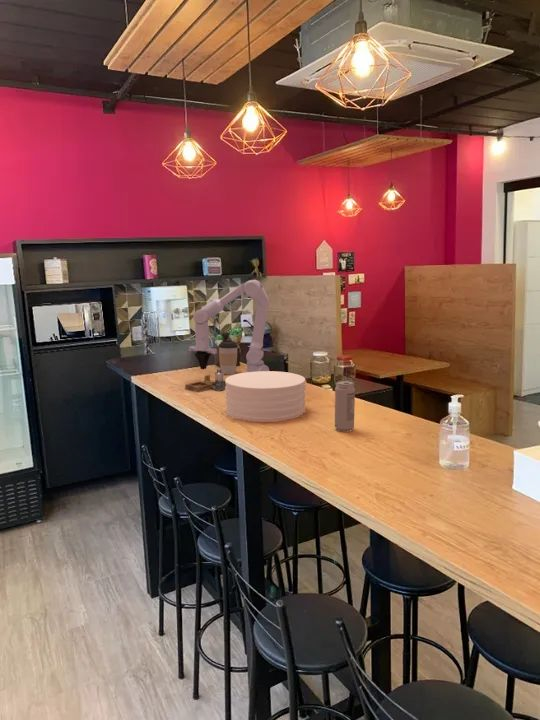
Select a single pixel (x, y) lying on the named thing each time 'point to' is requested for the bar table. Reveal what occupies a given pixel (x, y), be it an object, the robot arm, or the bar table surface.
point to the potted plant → (216, 356)
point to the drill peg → (218, 378)
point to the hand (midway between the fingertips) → (203, 368)
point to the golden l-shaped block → (207, 380)
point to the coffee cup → (228, 356)
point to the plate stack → (265, 396)
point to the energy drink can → (344, 406)
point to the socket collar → (218, 387)
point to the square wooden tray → (198, 386)
